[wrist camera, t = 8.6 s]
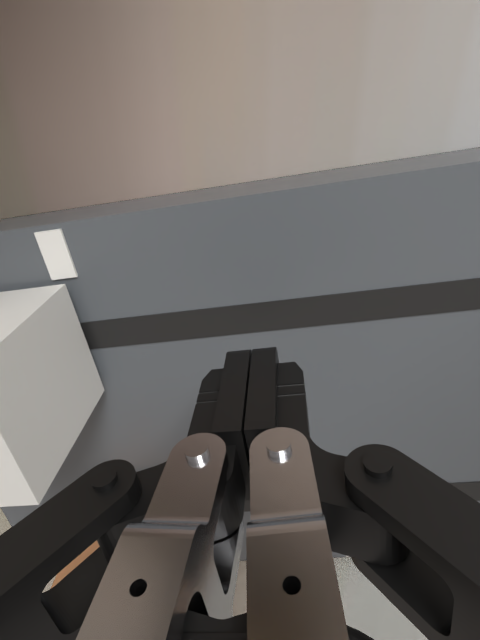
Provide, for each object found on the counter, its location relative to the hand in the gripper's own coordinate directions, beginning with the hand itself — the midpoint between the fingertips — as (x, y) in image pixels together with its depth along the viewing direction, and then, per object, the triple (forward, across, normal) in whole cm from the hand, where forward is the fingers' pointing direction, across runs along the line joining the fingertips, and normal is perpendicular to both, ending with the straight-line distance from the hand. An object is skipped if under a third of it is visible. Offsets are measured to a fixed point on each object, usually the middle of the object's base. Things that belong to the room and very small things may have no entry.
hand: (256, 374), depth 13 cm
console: (+6, +1, +5) cm, 8 cm away
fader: (+3, +9, 0) cm, 9 cm away
